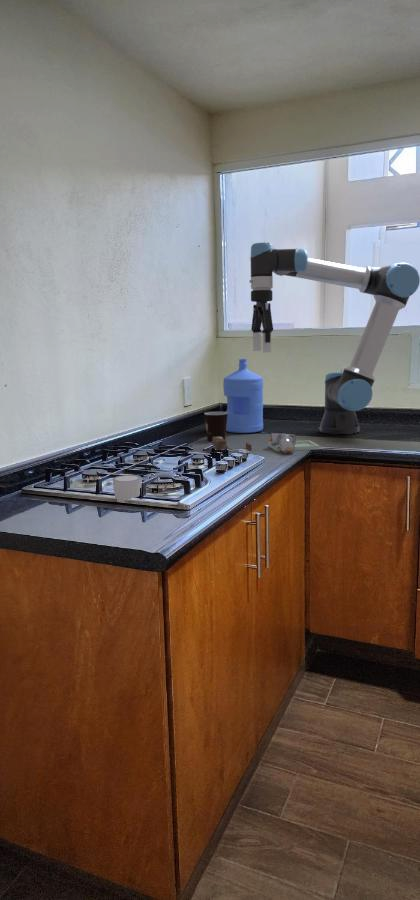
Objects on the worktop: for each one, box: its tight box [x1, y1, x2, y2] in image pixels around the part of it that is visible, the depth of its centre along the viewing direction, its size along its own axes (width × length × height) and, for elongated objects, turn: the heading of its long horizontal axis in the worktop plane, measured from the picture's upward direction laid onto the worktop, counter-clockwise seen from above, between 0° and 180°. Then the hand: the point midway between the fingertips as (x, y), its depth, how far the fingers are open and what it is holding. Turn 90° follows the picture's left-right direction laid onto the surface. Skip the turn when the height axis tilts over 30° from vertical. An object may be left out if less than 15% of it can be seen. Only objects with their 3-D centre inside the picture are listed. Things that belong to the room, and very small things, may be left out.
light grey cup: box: [112, 474, 143, 503], centre depth 141 cm, size 7×7×7 cm
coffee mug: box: [203, 411, 228, 442], centre depth 220 cm, size 12×9×10 cm
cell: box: [277, 433, 296, 455], centre depth 195 cm, size 4×4×9 cm
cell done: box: [268, 432, 297, 446], centre depth 202 cm, size 4×4×9 cm
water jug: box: [222, 358, 264, 434], centre depth 237 cm, size 16×16×28 cm
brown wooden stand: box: [211, 436, 253, 450], centre depth 200 cm, size 12×9×5 cm
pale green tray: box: [268, 439, 321, 452], centre depth 203 cm, size 15×10×1 cm, turn 100°
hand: (261, 351), depth 213 cm, fingers open, 13 cm apart
